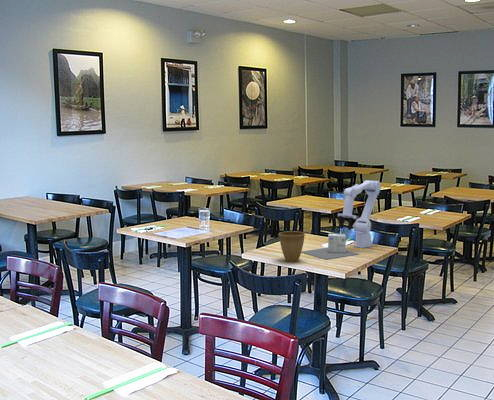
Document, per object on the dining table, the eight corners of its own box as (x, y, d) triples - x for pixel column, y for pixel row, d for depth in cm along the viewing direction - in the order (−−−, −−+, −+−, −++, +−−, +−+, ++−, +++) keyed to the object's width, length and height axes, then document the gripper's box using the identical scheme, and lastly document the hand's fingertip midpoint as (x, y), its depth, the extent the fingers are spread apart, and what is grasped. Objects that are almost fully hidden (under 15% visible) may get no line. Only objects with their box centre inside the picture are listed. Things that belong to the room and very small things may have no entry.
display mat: (332, 247, 369) (332, 246, 369) (358, 254, 349) (358, 253, 349) (300, 252, 354) (300, 251, 354) (326, 259, 335) (326, 259, 335)
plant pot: (302, 257, 340) (303, 230, 338) (305, 263, 326) (306, 235, 324) (277, 257, 340) (277, 230, 338) (279, 263, 325) (279, 235, 323)
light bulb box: (345, 250, 358) (345, 233, 356) (345, 252, 351) (346, 235, 350) (327, 250, 359) (328, 233, 357) (328, 252, 352) (328, 235, 351)
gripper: (335, 205, 361) (332, 227, 361) (351, 207, 349) (348, 229, 349) (343, 207, 365) (340, 228, 364) (360, 208, 353) (357, 230, 352)
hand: (345, 229), depth 357 cm, fingers open, 7 cm apart
